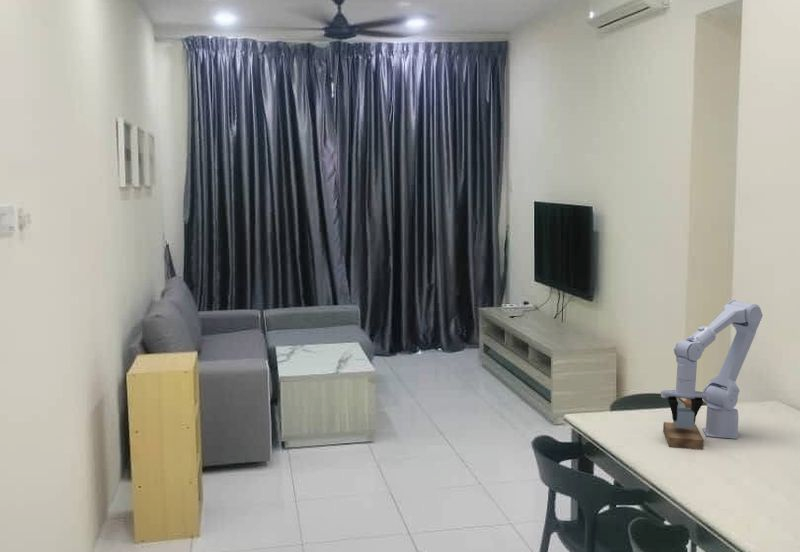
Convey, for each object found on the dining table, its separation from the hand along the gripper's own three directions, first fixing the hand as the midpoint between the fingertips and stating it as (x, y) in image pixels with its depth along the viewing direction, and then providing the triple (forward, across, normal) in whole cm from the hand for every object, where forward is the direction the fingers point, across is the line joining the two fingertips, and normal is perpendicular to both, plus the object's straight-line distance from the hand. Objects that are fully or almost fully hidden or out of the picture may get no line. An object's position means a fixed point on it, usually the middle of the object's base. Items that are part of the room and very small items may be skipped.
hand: (683, 420), depth 256 cm
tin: (+7, -5, -20) cm, 21 cm away
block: (+2, 0, 0) cm, 2 cm away
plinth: (+6, 0, 0) cm, 6 cm away
